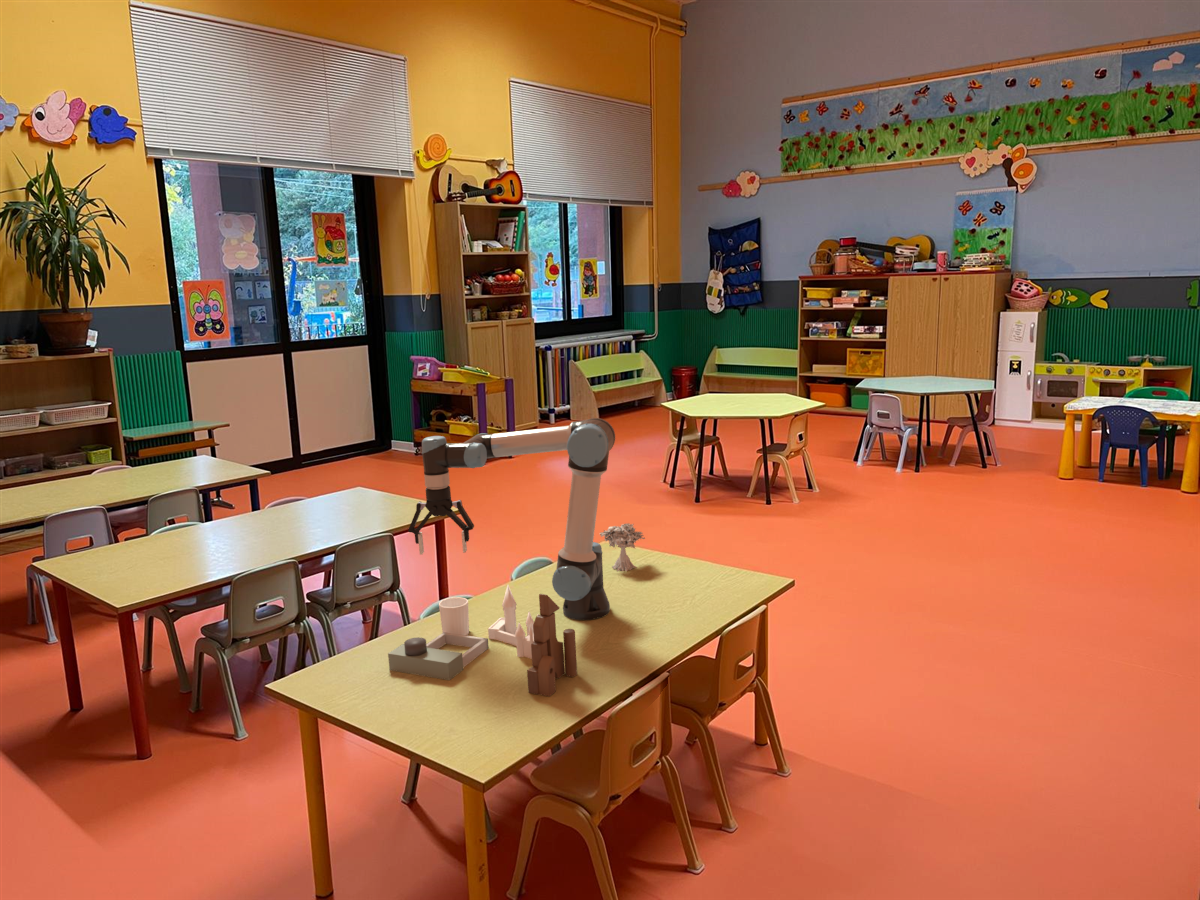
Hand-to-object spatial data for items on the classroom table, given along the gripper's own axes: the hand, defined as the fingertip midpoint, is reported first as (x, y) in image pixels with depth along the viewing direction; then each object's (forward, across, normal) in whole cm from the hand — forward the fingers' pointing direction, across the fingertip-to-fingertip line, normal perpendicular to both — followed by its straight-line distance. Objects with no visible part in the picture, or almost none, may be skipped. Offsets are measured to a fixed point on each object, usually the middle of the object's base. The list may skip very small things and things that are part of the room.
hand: (443, 552), depth 278 cm
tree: (+24, -56, -48) cm, 78 cm away
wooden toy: (+24, -36, +44) cm, 62 cm away
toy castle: (+24, -23, +17) cm, 38 cm away
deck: (+24, -3, +27) cm, 36 cm away
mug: (+24, -4, +8) cm, 25 cm away
